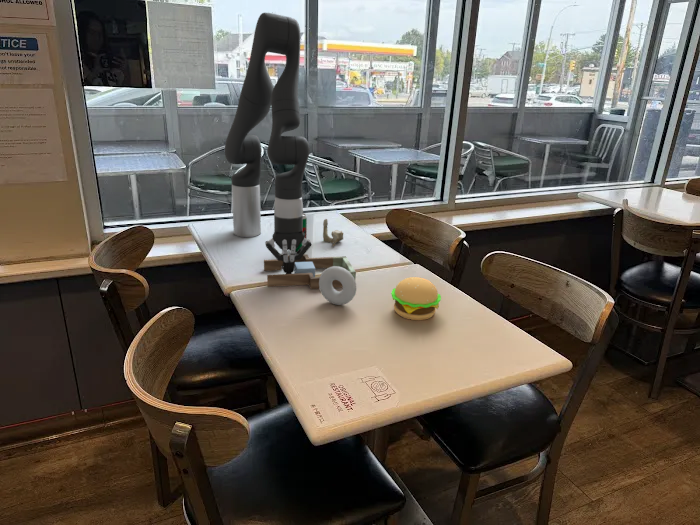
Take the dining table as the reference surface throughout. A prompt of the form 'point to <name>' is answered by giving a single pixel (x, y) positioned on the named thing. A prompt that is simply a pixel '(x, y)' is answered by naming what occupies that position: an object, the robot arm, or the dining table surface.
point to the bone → (335, 234)
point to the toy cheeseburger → (416, 298)
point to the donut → (345, 280)
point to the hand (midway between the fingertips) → (288, 273)
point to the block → (304, 267)
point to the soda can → (303, 231)
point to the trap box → (305, 277)
